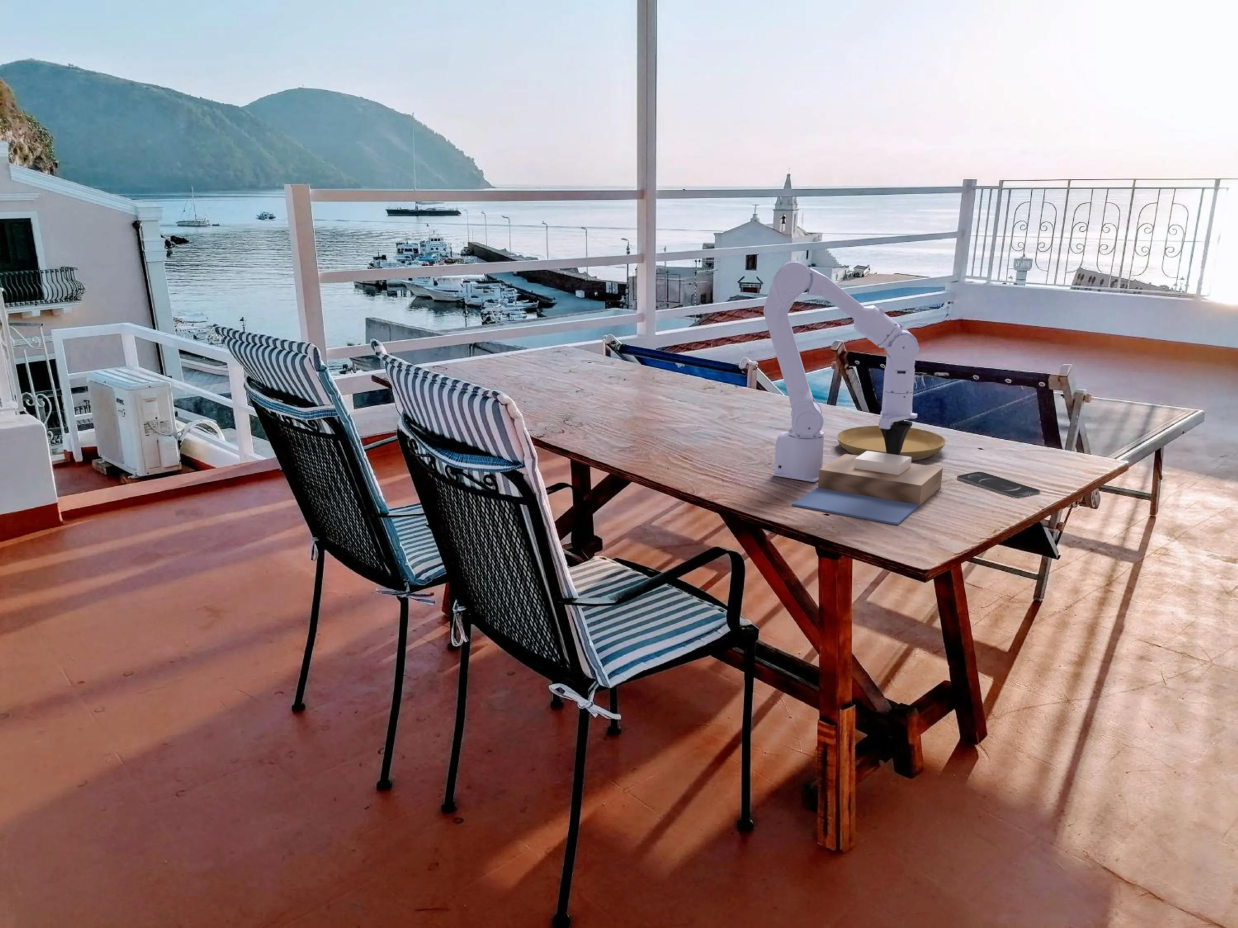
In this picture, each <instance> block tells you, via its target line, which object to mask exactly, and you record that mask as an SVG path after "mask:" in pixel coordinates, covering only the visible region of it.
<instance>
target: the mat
mask: <svg viewBox="0 0 1238 928" xmlns="http://www.w3.org/2000/svg"><path fill="white" fill-rule="evenodd" d="M791 506H793V507H797V508H803V509H808V510H815V511H817V512H818V511H819V512H824V513H829V514H835V515H841V516H846V517H851V518H858V519H862V520H868V521H873V522H877V523H883V524H889V525H894V526H899V525H900V524H901V523H902V522H903V521H905V520H906V519H907V518H908V517H909V516H910V515H911V514H912V513H914V512H915V511H916V510H917V509H918V508H919V507H920V506H919V505H918V504H912V503H906V502H900V501H894V500H888V499H883V498H877V497H871V496H865V495H859V494H853V493H847V492H841V491H835V490H830V489H824V488H818V486H817V487H815V488H814V489H812V490H811V491H809V492H807V493H806V494H804V495H803V496H801V497H800V498H798V499H796V500H795V501H793V502H792V503H791Z"/></svg>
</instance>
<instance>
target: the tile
mask: <svg viewBox="0 0 1238 928" xmlns="http://www.w3.org/2000/svg"><path fill="white" fill-rule="evenodd" d="M911 463H912V461H911V457H908V456H901V455H894V454H887V453H879V452H872V451H866V452H864V453H863V454H861V455H860V456H858V457H856V458H855V462H854V468H856V469H863V470H869V471H876V472H882V473H889V474H895V475H900V474H902V473H903V472H904V471H906V470H907V469H908V468H910V467H911Z"/></svg>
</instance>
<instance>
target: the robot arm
mask: <svg viewBox="0 0 1238 928" xmlns="http://www.w3.org/2000/svg"><path fill="white" fill-rule="evenodd" d="M805 291H806V293H807V295H809V296H817V297H822V298H824V299H825V300H827V301H828V302H829V303H831V304H832V305H833V306H835V307H836V308H838V309H839V310H840V311H842V312H843V313H844V314H846V315H847V316H849V317H850V318H852V319H853V325H854V326H853V327H854V329H855V330H856V331H857V332H859V333H860V334H861V335H862V336H864V337H865V338H866V339H868V341H870V342H872V343H873V344H874V345H875V346H877V347H878V348H879V349H880V348H882V349H883V348H884V352H885V353H886V354H887V355H886V360H885V362H886V364H885V367H884V374H883V375H884V376H883V389H882V401H881V404H882V405H881V411H880V417H879V421H878V422H879V423H878V426H879V428H880V430H881V432H882V434H883V437H884V441H885V447H886V453H887V454H894V455H900V453H901V450H902V446H903V443H904V440H905V437H906V435H907V433H908V431H909V429H910V428H912V426H913V422H912V421H909V419H912V420H913V419H916V418H918V413H917V412H916V413H914V412H913V396H914V385H915V384H914V383H915V374H916V373H915V371H916V368H915V365H916V357H917V356H918V354H919V351H920V349H921V348H920V347H919V342H918V339H917V338H916V337H915V335H913V334H912V333H911V332H909V330H908V329H906V328H905V325H904V324H903V323H901V322H899V323H898V322H896V321H895V320H894V319H892V317H890V316H889V315H888V314H887V313H886V309H884V308H883V307H882V306H878V307H877V306H875V305H872V304H871V305H866V306H865V305H862V304H861V303H860V302H859V301H858V300H857V299H855V298H854V297H852V296H851V295H850V294H849V293H848V292H847V291H846V290H844V289H843V288H841V287H840V286H839V285H838V284H836V283H835V282H834V281H833V280H832V279H830V277H828V276H827V275H824V274H823V273H821V272H819V271H818V270H815V269H813V268H812V267H809V269H808V267H807V265H806V264H805V263H803V262H802V261H800V260H794V259H793V260H789V261H787V262H785V263H783V264H782V265H781V267H780V268H779V269H778V270H777V272H776V273H775V274H774V276H773V278H772V282H771V285H770V288H769V290H768V294H767V297H766V299H765V303H764V306H763V315H764V318H765V323H766V326H767V328H768V332H769V337H770V339H771V342H772V345H773V349H774V352H775V354H776V355H775V356H776V358H777V359H776V360H777V361H778V365H779V368H780V372H781V376H782V378H783V381H784V385H785V388H786V391H787V394H788V395H787V396H788V398H789V403H790V404H789V405H790V407H791V411H790V412H791V413H790V416H791V426H792V427H791V428H790V429H789V430H788V431H781V432H780V433H779V434H778V436H777V437H776V441H775V445H774V471H773V472H772V475H773V476H774V477H781V478H786V479H793V480H798V481H805V482H811V483H816V482H818V479H819V469H821V468H822V467H823V463H824V462H823V461H824V459H823V458H824V441H825V436H824V435H825V432H824V430H822V429H823V427H824V423H825V422H824V417H823V410H822V407H821V405H820V403H819V402H818V401H816V399H815V398H814V396H813V393H812V390H811V387H810V384H809V381H808V377H807V374H806V371H805V368H804V365H803V361H802V357H801V354H800V351H799V347H798V344H797V341H796V337H795V334H794V331H793V327H792V323H791V320H790V317H789V311H790V310H791V308H792V307H793V305H794V303H795V301H796V299H798V298H799V297H801V295H802V294H804V292H805Z"/></svg>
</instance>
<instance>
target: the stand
mask: <svg viewBox="0 0 1238 928" xmlns="http://www.w3.org/2000/svg"><path fill="white" fill-rule="evenodd" d="M856 457H858V456H857V455H854V454H851V453H850V454H848V453H845V454H842V455H841V456H839V457H838V458H836V459H834V460H832V461H831V462H829V463H828V464H826V465H824V466H822V468H821V469H819V479H818V480H817V482H818V483H817V487H818V488H824V489H830V490H835V491H841V492H847V493H853V494H859V495H865V496H871V497H877V498H883V499H888V500H894V501H900V502H906V503H912V504H918V505H919V507H920V506H921V505H923V504H924V503H925V502H926V501H927V500H929V498H931V497H932V496H933V495H934V494H935V493H936V492H937V491H938V490H939V489H941V487H942V481H943V480H942V479H943V469H944V468H943V467H940V466H932V465H925V464H920V463H919V464H918V463H913V462H911V467H910V468H908V469H907V470H906V471H904V472H903V473H902V474H900V475H895V474H889V473H882V472H876V471H869V470H863V469H856V468H854V462H855V458H856Z"/></svg>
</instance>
